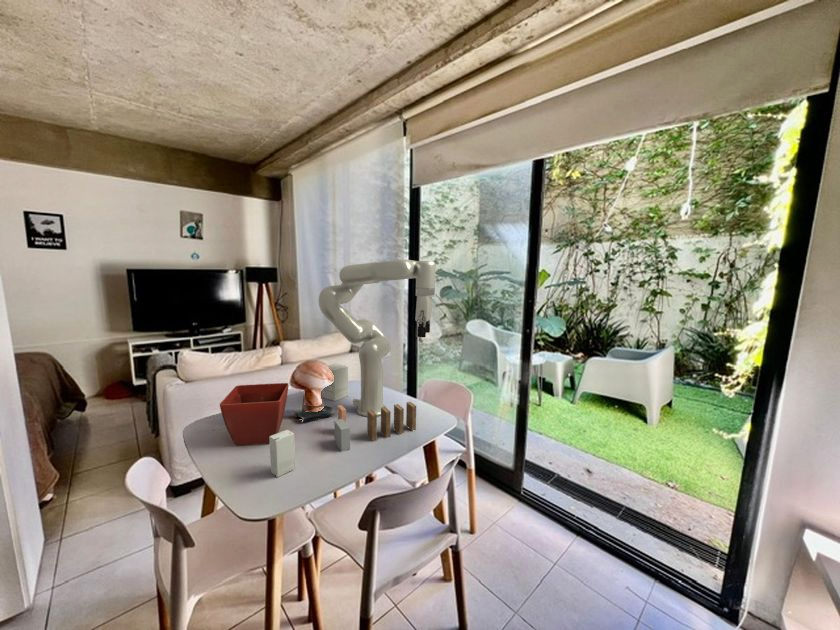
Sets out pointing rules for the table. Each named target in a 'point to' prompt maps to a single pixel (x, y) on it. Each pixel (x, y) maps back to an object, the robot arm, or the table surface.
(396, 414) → the domino
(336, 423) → the block
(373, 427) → the domino
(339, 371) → the supplement box
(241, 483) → the table surface
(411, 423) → the domino
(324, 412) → the electronic device
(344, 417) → the domino end
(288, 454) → the skincare box
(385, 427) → the domino
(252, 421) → the plant pot
